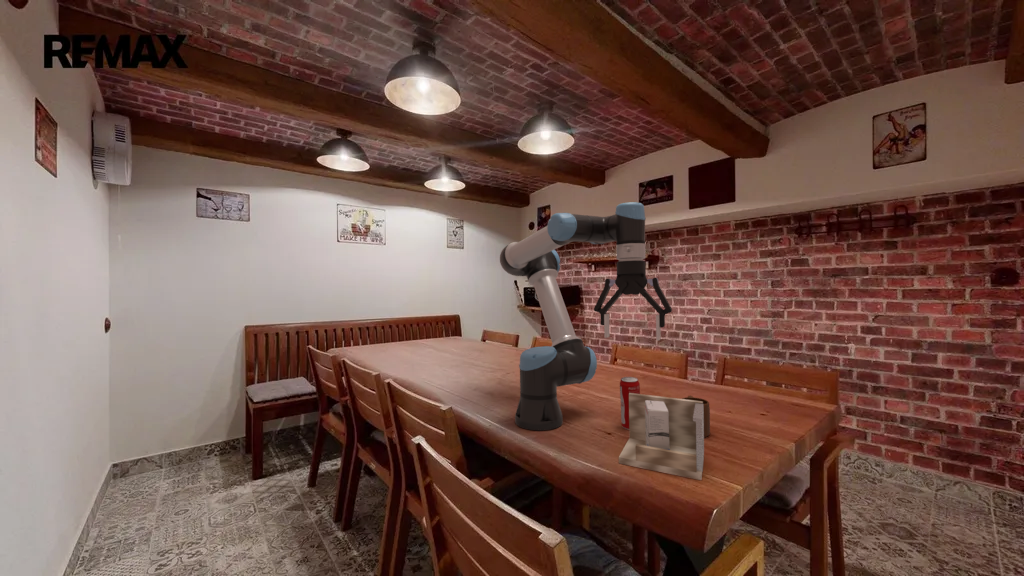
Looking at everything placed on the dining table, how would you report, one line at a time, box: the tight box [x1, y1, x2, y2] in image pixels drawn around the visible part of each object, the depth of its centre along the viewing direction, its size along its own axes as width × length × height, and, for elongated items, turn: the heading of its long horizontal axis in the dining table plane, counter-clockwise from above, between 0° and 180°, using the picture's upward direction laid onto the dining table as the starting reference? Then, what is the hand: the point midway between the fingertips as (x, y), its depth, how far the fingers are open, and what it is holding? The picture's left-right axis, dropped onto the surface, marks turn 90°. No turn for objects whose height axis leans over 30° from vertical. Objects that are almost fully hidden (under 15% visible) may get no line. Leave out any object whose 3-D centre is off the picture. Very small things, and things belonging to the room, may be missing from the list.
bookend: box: [693, 403, 705, 473], centre depth 90 cm, size 2×12×12 cm, turn 152°
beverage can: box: [619, 376, 641, 431], centre depth 115 cm, size 6×6×15 cm
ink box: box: [645, 400, 670, 450], centre depth 95 cm, size 9×5×12 cm, turn 166°
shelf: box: [618, 393, 703, 481], centre depth 94 cm, size 18×14×14 cm
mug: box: [681, 395, 711, 438], centre depth 112 cm, size 12×8×9 cm, turn 166°
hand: (631, 338), depth 103 cm, fingers open, 13 cm apart
